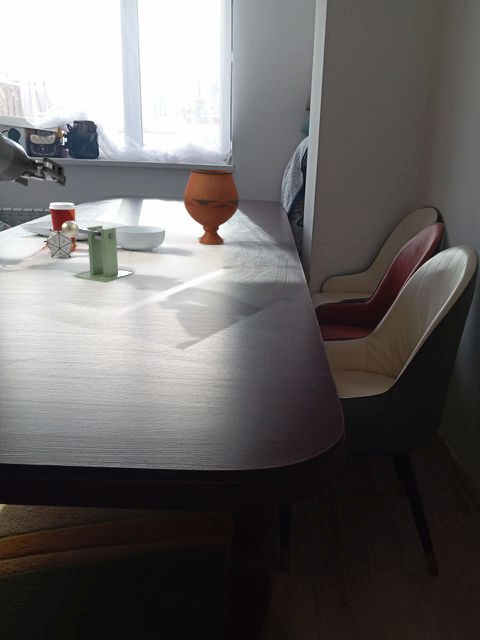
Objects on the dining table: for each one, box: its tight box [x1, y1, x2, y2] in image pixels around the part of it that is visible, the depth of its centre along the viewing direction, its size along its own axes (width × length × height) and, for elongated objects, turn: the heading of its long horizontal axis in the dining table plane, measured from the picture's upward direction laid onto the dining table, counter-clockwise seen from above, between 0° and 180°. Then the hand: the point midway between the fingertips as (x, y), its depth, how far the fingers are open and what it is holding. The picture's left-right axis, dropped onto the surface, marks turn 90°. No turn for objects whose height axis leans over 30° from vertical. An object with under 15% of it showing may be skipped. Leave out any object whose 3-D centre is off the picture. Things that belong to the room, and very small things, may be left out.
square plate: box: [19, 218, 131, 241], centre depth 186 cm, size 27×27×4 cm
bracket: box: [74, 225, 133, 283], centre depth 126 cm, size 11×9×13 cm
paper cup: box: [48, 201, 77, 252], centre depth 158 cm, size 8×8×14 cm
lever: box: [62, 221, 102, 240], centre depth 119 cm, size 14×4×4 cm, turn 158°
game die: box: [43, 228, 77, 258], centre depth 149 cm, size 9×8×10 cm
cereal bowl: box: [115, 225, 166, 253], centre depth 164 cm, size 17×17×7 cm
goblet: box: [183, 168, 240, 246], centre depth 182 cm, size 19×19×25 cm
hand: (44, 181), depth 108 cm, fingers open, 8 cm apart
